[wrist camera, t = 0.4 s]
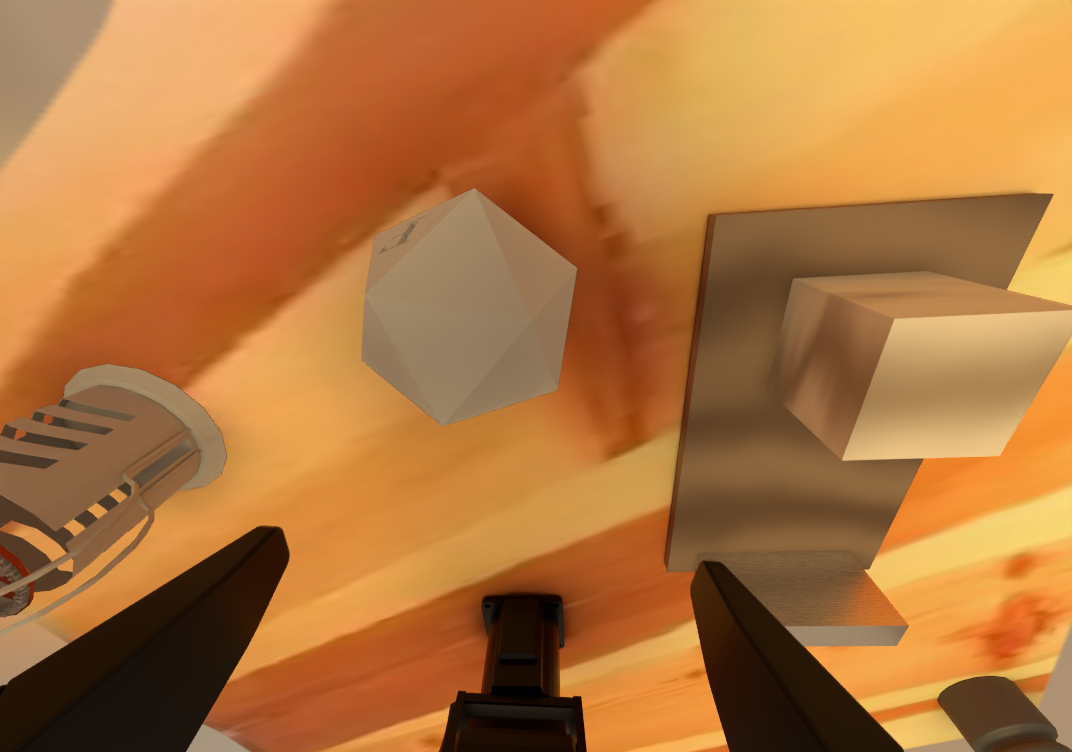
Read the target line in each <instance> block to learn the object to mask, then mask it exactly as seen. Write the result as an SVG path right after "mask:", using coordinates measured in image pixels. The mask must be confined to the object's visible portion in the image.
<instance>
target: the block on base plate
mask: <svg viewBox="0 0 1072 752" xmlns="http://www.w3.org/2000/svg"><path fill="white" fill-rule="evenodd" d="M1053 195H1054V194H1037V193H1031V194H1016V195H1000V196H985V197H970V198H954V199H939V200H924V201H908V202H893V203H878V204H862V205H847V206H832V207H816V208H801V209H786V210H770V211H755V212H740V213H724V214H709V222H708V230H707V237H706V245H705V253H704V261H703V268H702V276H701V284H700V292H699V299H698V307H697V315H696V323H695V330H694V338H693V346H692V353H691V361H690V369H689V377H688V384H687V392H686V400H685V408H684V415H683V423H682V431H681V439H680V446H679V454H678V462H677V470H676V477H675V485H674V493H673V501H672V508H671V516H670V524H669V532H668V539H667V547H666V555H665V566H666V569H667V572H696V570H697V567H698V565H699V563H700V562H701V561H702V560H709V561H719V562H721V563H723V564H724V565H725V566H726V567H727V568H728V569H729V570H730V571H731V572H732V573H733V574H734V575H735V576H736V577H737V578H738V579H739V580H740V581H741V582H742V583H743V584H744V586H745V587H746V588H747V589H748V590H749V591H750V592H751V593H752V594H753V595H754V596H755V597H756V598H757V599H758V600H759V601H760V602H761V603H762V604H763V605H764V606H765V607H766V608H767V609H768V610H769V611H770V612H771V613H772V614H773V615H774V616H775V617H776V618H777V619H778V620H779V621H780V622H781V624H782V625H783V626H784V627H785V628H786V629H787V630H788V631H789V632H790V633H791V634H792V635H793V636H794V637H795V638H796V639H797V640H798V641H799V642H800V643H801V644H802V645H803V646H897V644H898V643H899V641H900V639H901V638H902V636H903V635H904V633H905V631H906V630H907V628H908V627H909V625H908V624H907V623H906V621H905V620H904V619H903V618H902V616H901V615H900V614H899V613H898V611H897V610H896V609H895V608H894V606H893V605H892V604H891V603H890V602H889V600H888V599H887V598H886V597H885V595H884V594H883V593H882V592H881V590H880V589H879V588H878V587H877V585H876V584H875V583H874V582H873V581H872V579H871V578H870V577H869V576H868V574H867V573H866V572H865V571H864V569H870V567H871V565H872V562H873V560H874V558H875V556H876V554H877V552H878V550H879V548H880V546H881V544H882V542H883V540H884V538H885V536H886V534H887V532H888V530H889V528H890V526H891V524H892V522H893V520H894V518H895V516H896V514H897V512H898V510H899V508H900V506H901V504H902V501H903V499H904V497H905V495H906V493H907V491H908V489H909V487H910V485H911V483H912V481H913V479H914V477H915V475H916V473H917V471H918V469H919V467H920V465H921V463H922V461H923V459H924V458H914V459H880V460H846V461H842V460H841V459H840V458H839V457H837V456H836V455H835V454H834V453H833V452H832V451H831V450H830V449H829V448H828V447H827V446H826V445H825V444H824V443H823V442H822V441H821V440H820V439H819V438H818V437H817V436H815V435H814V434H813V433H812V432H811V431H810V430H809V429H808V428H807V427H806V426H805V425H804V424H803V423H802V422H801V421H800V420H799V419H798V418H797V417H796V416H795V415H794V414H792V413H791V412H790V411H789V410H788V409H787V408H786V407H785V406H784V405H783V404H782V403H781V402H780V401H779V400H778V399H777V398H776V397H775V396H774V395H773V394H772V393H770V392H769V391H768V390H767V387H768V383H769V378H770V374H771V370H772V366H773V362H774V357H775V353H776V349H777V345H778V340H779V336H780V332H781V328H782V324H783V319H784V315H785V311H786V307H787V302H788V298H789V294H790V290H791V285H792V281H793V278H810V277H828V276H846V275H864V274H883V273H901V272H919V271H928V272H933V273H937V274H941V275H945V276H949V277H954V278H958V279H962V280H966V281H970V282H975V283H979V284H983V285H987V286H991V287H996V288H1000V289H1004V290H1007V288H1008V286H1009V284H1010V282H1011V280H1012V278H1013V276H1014V274H1015V272H1016V270H1017V268H1018V266H1019V264H1020V262H1021V260H1022V258H1023V256H1024V254H1025V251H1026V249H1027V247H1028V245H1029V243H1030V241H1031V239H1032V237H1033V235H1034V233H1035V231H1036V229H1037V227H1038V225H1039V223H1040V221H1041V219H1042V217H1043V215H1044V213H1045V211H1046V209H1047V207H1048V205H1049V203H1050V201H1051V199H1052V197H1053Z"/></svg>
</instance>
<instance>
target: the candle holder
mask: <svg viewBox="0 0 1072 752" xmlns="http://www.w3.org/2000/svg"><path fill="white" fill-rule="evenodd" d="M938 702H939V704H940V706H941V707H942V708H943V710H944V711H945V712H946V714H947V715H948V716H949V718H950V719H951V720H952V722H953V723H954V724H955V726H956V727H957V728H958V730H959V731H960V732H961V734H962V735H963V736H964V738H965V739H966V741H967V742H968V743H969V745H970V746H971V747H972V749H973V750H974V751H975V752H1072V750H1071V749H1069V748H1068V747H1067V746H1064V745H1062V744H1060V743H1058V742H1056V739H1057V737H1058V734H1057V730H1056V728H1055V727H1054V726H1053V725H1052V724H1051V723H1050V722H1049V721H1048V719H1047V718H1046V717H1045V716H1044V715H1043V714H1042V713H1041V712H1040V711H1039V710H1038V709H1037V708H1036V706H1035V705H1034V704H1033V703H1032V702H1031V701H1030V700H1029V699H1028V698H1027V697H1026V696H1025V695H1024V694H1023V692H1022V691H1021V690H1020V689H1019V688H1018V687H1017V686H1016V685H1015V684H1014V683H1013V682H1012V681H1010V680H1008V679H1006V678H1002V677H994V676H989V677H977V678H973V679H969V680H965V681H961V682H959V683H957V684H955V685H952V686H950V687H948V688H947V689H946V690H945V691H943V692H942V693H941V694H940V696H939V699H938Z"/></svg>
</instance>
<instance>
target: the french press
mask: <svg viewBox="0 0 1072 752" xmlns="http://www.w3.org/2000/svg"><path fill="white" fill-rule="evenodd" d="M45 414H48V415H51V416H54V417H53V420H52V423H50V424H48V425H47V424H43V423H42V422H43V418H44V415H45ZM17 429H20V430H23V431H26V432H27V433H26V436H24V437H22V438H19V439H17V440H14V437H15V433H16V430H17ZM226 458H227V454H226V450H225V446H224V442H223V438H222V434H221V432H220V430H219V429H218V428H217V426H216V425H215V423H214V422H213V421H212V419H211V418H210V416H209V415H208V413H207V412H206V411H205V409H204V408H203V407H202V406H201V405H199V404H198V403H197V402H196V401H194V400H193V399H192V398H191V397H189V396H188V395H187V394H186V393H184V392H183V391H182V390H181V389H179V388H178V387H177V386H176V385H174V384H172V383H169V382H167V381H165V380H163V379H161V378H159V377H157V376H154V375H152V374H150V373H148V372H146V371H144V370H141V369H136V368H129V367H123V366H117V365H111V364H105V365H100V366H96V367H91V368H86V369H82V370H80V371H79V372H78V373H77V374H76V375H75V376H74V377H73V378H72V379H71V380H70V381H69V382H68V383H67V384H66V385H65V392H64V398H62V399H61V400H60V402H59V404H58V405H53V404H51V405H48V406H46V407H43V408H40V409H38V410H35V411H34V413H33V415H32V417H31V419H28V418H19V419H17V420H15V421H13V422H11V423H9V424H6V425H5V426H4V428H3V431H2V433H1V435H0V528H1V527H2V526H4V525H6V524H7V523H9V522H10V521H15V522H18V523H21V524H24V525H27V526H30V527H34V528H37V529H38V530H40V531H41V532H42V533H44V534H45V535H47V536H48V537H50V538H51V539H52V540H54V541H55V542H57V543H58V544H59V545H60V546H61V547H62V548H63V549H64V550H65V552H66V553H67V554H65V555H64V556H62V557H60V558H58V559H57V560H55V561H53V562H52V561H51V560H50V559H49V558H48V557H47V556H46V554H44V553H43V552H42V551H40V550H39V549H37V548H36V547H34V546H33V545H32V544H30V543H29V542H27V541H26V540H24V539H23V538H20V537H17V536H14V535H11V534H8V533H5V532H2V531H0V617H7V616H11V615H17V614H18V613H19V612H21V611H22V610H23V609H25V608H26V607H27V606H29V605H30V603H31V601H32V600H33V594H34V592H41V591H51V590H53V589H55V588H57V587H59V586H62V585H64V584H66V583H67V582H68V581H69V580H71V579H72V578H73V577H74V576H76V575H77V574H78V573H79V572H81V571H82V570H83V569H84V568H85V567H87V566H88V565H89V564H90V563H92V562H93V561H94V560H95V559H96V558H97V557H98V556H99V555H100V554H101V553H103V552H105V551H106V550H107V549H108V548H109V547H111V546H112V545H113V544H114V543H115V542H116V541H117V540H119V539H120V538H121V537H122V536H123V535H124V534H125V533H126V532H128V531H130V530H131V529H132V528H133V527H135V526H136V525H137V524H138V523H140V522H141V521H142V520H143V519H144V518H145V517H146V516H147V515H148V514H149V520H148V521H147V523H146V524H145V525H144V527H143V528H142V530H141V531H140V533H139V534H138V536H137V537H136V539H135V540H134V541H133V542H132V543H131V544H130V545H129V546H128V547H127V548H126V549H125V550H123V551H122V552H121V553H120V554H119V555H118V556H117V557H116V558H115V559H114V560H113V561H111V562H110V563H109V564H108V565H107V566H106V567H105V568H104V569H103V570H102V571H100V572H99V573H98V574H97V575H96V576H95V577H93V578H92V579H90V580H89V581H87V582H86V583H84V584H83V585H81V586H80V587H78V588H77V589H76V590H74V591H73V592H71V593H69V594H68V595H66V596H64V597H62V598H61V599H59V600H57V601H56V602H54V603H52V604H50V605H49V606H47V607H45V608H44V609H42V610H40V611H38V612H37V613H35V614H33V615H31V616H29V617H27V618H25V619H23V620H21V621H19V622H16V623H14V624H12V625H10V626H8V627H6V628H4V629H2V630H0V637H2V636H4V635H6V634H8V633H10V632H12V631H14V630H16V629H18V628H20V627H22V626H24V625H26V624H28V623H30V622H32V621H34V620H36V619H38V618H40V617H41V616H43V615H45V614H46V613H48V612H50V611H51V610H53V609H55V608H56V607H58V606H59V605H61V604H63V603H64V602H66V601H68V600H69V599H71V598H73V597H74V596H76V595H77V594H79V593H81V592H82V591H84V590H86V589H87V588H89V587H90V586H91V585H93V584H94V583H96V582H97V581H98V580H100V579H101V578H102V577H103V576H104V575H106V574H107V573H108V572H109V571H110V570H111V569H112V568H114V567H115V566H116V565H117V564H118V563H119V562H120V561H122V560H123V559H124V558H125V557H126V556H127V555H128V554H130V553H131V552H132V551H133V550H134V549H135V548H136V547H137V546H138V544H139V543H140V542H141V541H142V539H143V538H144V537H145V535H146V534H147V533H148V531H149V529H150V527H151V525H152V523H153V522H154V510H155V509H156V508H158V507H159V506H160V505H161V504H162V503H163V502H164V501H165V500H167V499H169V498H170V497H171V496H172V495H173V494H174V493H176V492H177V491H182V490H188V489H194V488H200V487H205V486H206V485H208V484H209V483H210V482H212V481H213V480H215V479H216V478H217V477H219V476H220V475H221V473H222V470H223V467H224V464H225V461H226ZM115 489H119V490H120V491H122V492H123V493H124V494H126V495H127V496H128V497H127V498H126V499H124V500H123V501H122V502H120V503H118V502H117V501H116V500H115V499H114V498H113V497H111V496H110V495H108V494H109V493H111V492H112V491H114V490H115ZM95 503H97V504H99V505H100V506H102V507H103V508H105V509H106V510H107V511H108V512H107V513H106V514H104V515H103V516H102V517H100V518H99V519H97V518H96V517H95V516H94V515H93V514H92V513H91V512H89V511H88V510H87V509H88V508H90V507H91V506H93V505H94V504H95ZM73 519H75V520H76V521H77V522H79V523H80V524H82V525H83V526H84V527H85V528H86V529H84V530H83V531H82V532H80V533H79V534H78V535H76V536H75V537H74V536H73V534H72V533H71V532H70V531H69V530H67V529H66V528H64V527H63V526H64V525H66V524H67V523H69V522H70V521H71V520H73ZM71 558H72V559H73V560H74V563H73V572H68V571H61V570H58V568H57V567H58V566H59V565H61V564H63V563H64V562H66V561H67V560H69V559H71Z"/></svg>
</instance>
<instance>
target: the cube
mask: <svg viewBox="0 0 1072 752" xmlns="http://www.w3.org/2000/svg"><path fill="white" fill-rule="evenodd" d="M1071 336H1072V306H1071V305H1067V304H1063V303H1059V302H1054V301H1050V300H1046V299H1042V298H1038V297H1033V296H1029V295H1025V294H1021V293H1017V292H1012V291H1008V290H1004V289H1000V288H996V287H991V286H987V285H983V284H979V283H975V282H970V281H966V280H962V279H958V278H954V277H949V276H945V275H941V274H937V273H933V272H928V271H919V272H901V273H883V274H864V275H846V276H828V277H810V278H793V281H792V285H791V290H790V294H789V298H788V302H787V307H786V311H785V315H784V319H783V324H782V328H781V332H780V336H779V340H778V345H777V349H776V353H775V357H774V362H773V366H772V370H771V374H770V378H769V383H768V387H767V390H768V391H769V392H770V393H772V394H773V395H774V396H775V397H776V398H777V399H778V400H779V401H780V402H781V403H782V404H783V405H784V406H785V407H786V408H787V409H788V410H789V411H790V412H791V413H792V414H794V415H795V416H796V417H797V418H798V419H799V420H800V421H801V422H802V423H803V424H804V425H805V426H806V427H807V428H808V429H809V430H810V431H811V432H812V433H813V434H814V435H815V436H817V437H818V438H819V439H820V440H821V441H822V442H823V443H824V444H825V445H826V446H827V447H828V448H829V449H830V450H831V451H832V452H833V453H834V454H835V455H836V456H837V457H839V458H840V459H841V460H842V461H846V460H880V459H914V458H949V457H983V456H1000V454H1001V453H1002V451H1003V449H1004V448H1005V446H1006V444H1007V443H1008V441H1009V439H1010V438H1011V436H1012V434H1013V433H1014V431H1015V429H1016V428H1017V426H1018V424H1019V423H1020V421H1021V419H1022V418H1023V416H1024V414H1025V413H1026V411H1027V409H1028V408H1029V406H1030V405H1031V403H1032V401H1033V400H1034V398H1035V396H1036V395H1037V393H1038V391H1039V390H1040V388H1041V386H1042V385H1043V383H1044V381H1045V380H1046V378H1047V376H1048V375H1049V373H1050V371H1051V370H1052V368H1053V366H1054V365H1055V363H1056V361H1057V360H1058V358H1059V356H1060V355H1061V353H1062V351H1063V350H1064V348H1065V346H1066V345H1067V343H1068V341H1069V340H1070V338H1071Z"/></svg>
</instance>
